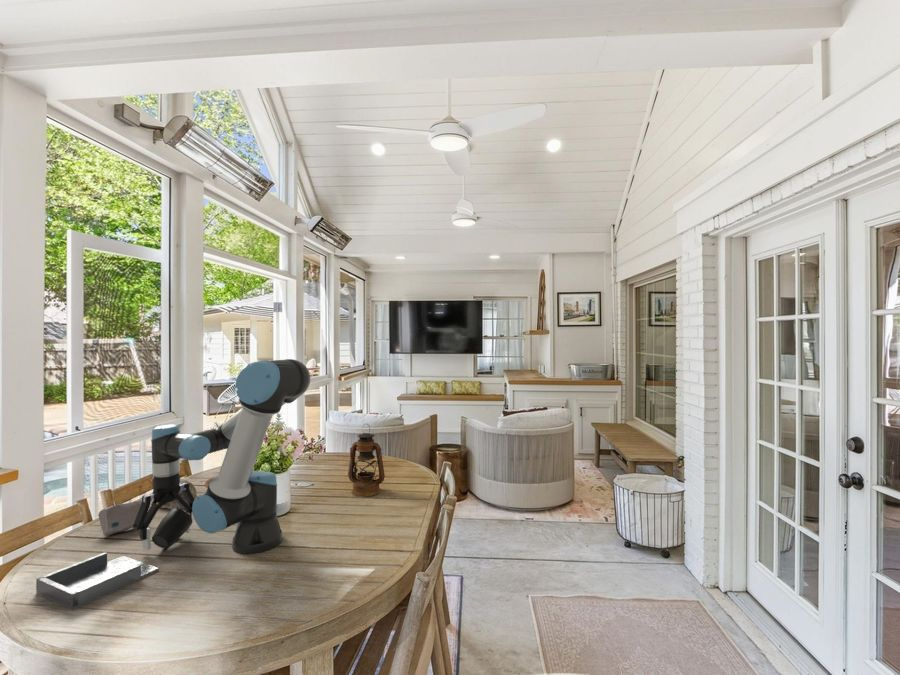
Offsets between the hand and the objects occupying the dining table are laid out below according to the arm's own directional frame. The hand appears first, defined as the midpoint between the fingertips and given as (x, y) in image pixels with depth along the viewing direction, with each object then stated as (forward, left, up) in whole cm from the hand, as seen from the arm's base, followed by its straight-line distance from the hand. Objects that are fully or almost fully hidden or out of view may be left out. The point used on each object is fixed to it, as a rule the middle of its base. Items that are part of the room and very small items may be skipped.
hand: (167, 540), depth 144 cm
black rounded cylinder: (-2, +4, 0) cm, 4 cm away
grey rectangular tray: (-4, +22, -2) cm, 22 cm away
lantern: (-27, -70, -2) cm, 75 cm away
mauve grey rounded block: (+26, -1, -2) cm, 26 cm away
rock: (+33, -25, -3) cm, 42 cm away
